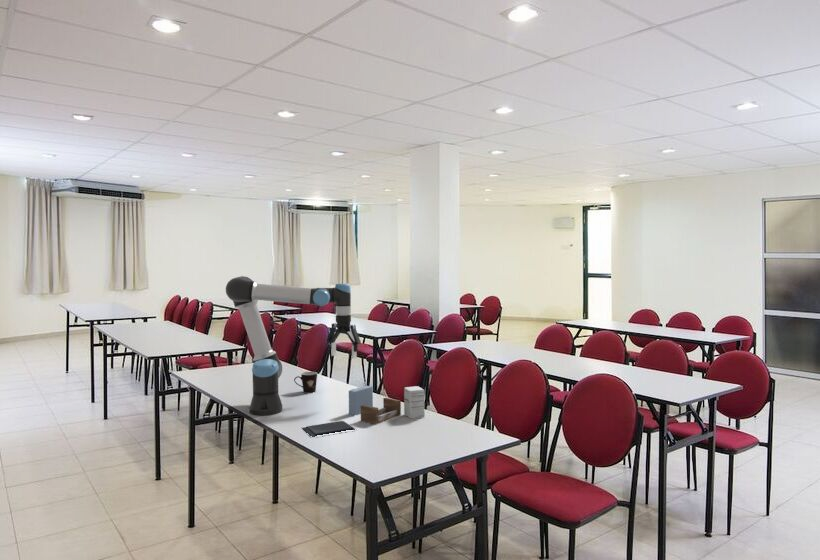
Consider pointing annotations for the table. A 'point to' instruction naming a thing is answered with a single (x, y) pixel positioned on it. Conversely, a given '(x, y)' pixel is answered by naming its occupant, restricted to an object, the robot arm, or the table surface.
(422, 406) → the supplement box
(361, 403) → the blue-grey rectangular block
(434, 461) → the table surface
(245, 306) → the robot arm
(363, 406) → the track frame
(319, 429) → the wallet
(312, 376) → the coffee mug
